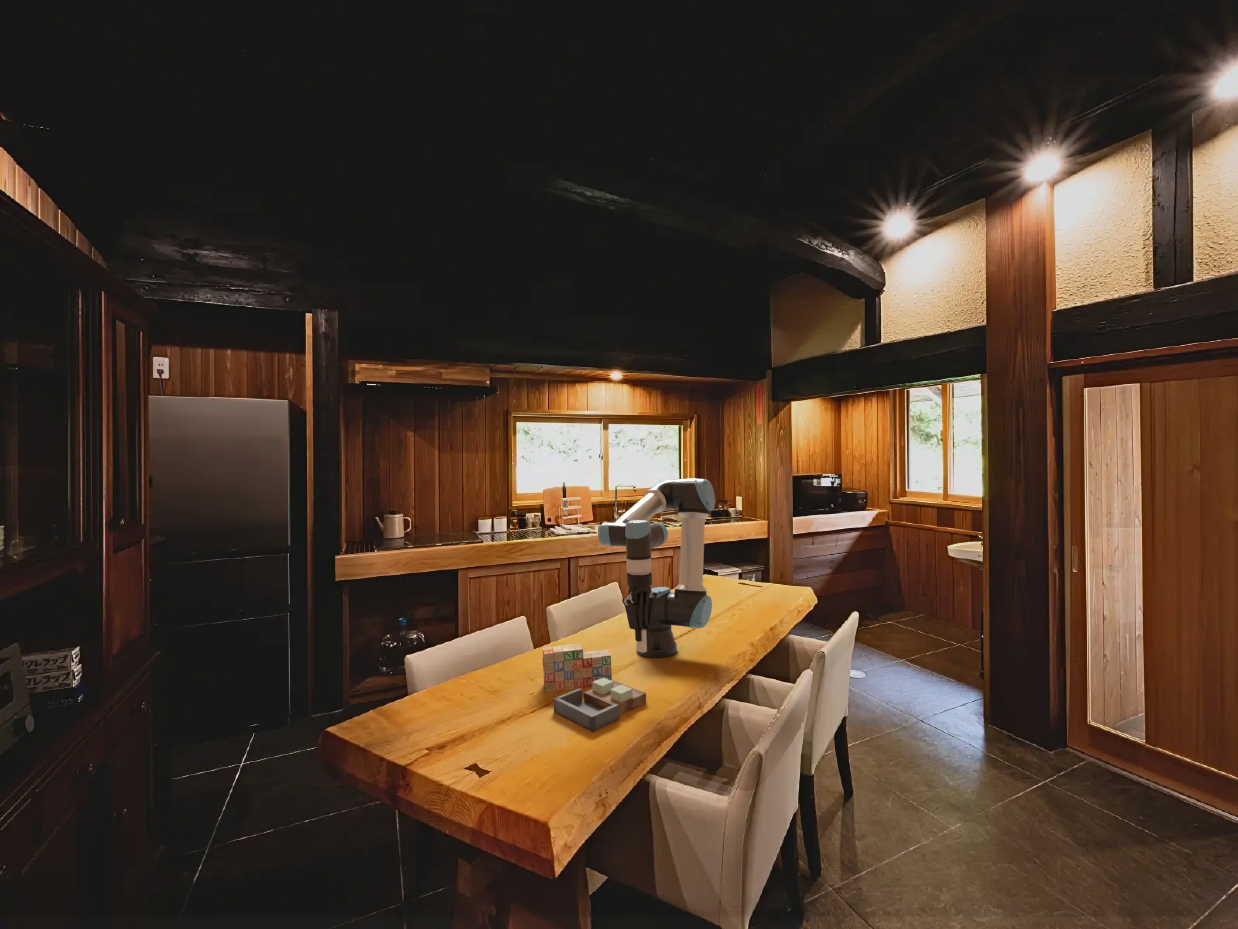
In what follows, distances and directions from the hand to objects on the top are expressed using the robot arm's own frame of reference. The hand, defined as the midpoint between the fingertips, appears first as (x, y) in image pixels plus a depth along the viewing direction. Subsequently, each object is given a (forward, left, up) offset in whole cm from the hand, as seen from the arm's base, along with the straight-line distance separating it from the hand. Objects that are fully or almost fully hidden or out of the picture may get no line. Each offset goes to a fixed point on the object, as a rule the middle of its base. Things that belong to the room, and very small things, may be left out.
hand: (641, 651), depth 163 cm
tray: (+19, -4, -14) cm, 24 cm away
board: (+8, -4, -14) cm, 17 cm away
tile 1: (+9, -8, -11) cm, 16 cm away
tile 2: (+9, 0, -11) cm, 14 cm away
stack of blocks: (+6, -23, -15) cm, 28 cm away
